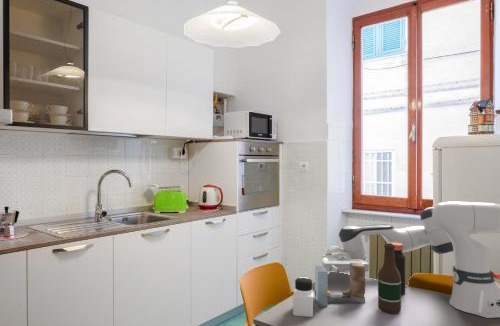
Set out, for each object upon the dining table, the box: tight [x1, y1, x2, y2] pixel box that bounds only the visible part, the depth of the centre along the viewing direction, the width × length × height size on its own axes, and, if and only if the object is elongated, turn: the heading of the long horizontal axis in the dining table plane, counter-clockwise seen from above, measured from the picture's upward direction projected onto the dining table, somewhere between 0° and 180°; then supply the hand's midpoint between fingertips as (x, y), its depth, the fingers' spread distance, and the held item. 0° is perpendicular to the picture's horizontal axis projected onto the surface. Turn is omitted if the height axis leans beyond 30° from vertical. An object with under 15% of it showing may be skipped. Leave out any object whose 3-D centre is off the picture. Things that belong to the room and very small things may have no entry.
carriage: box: [341, 263, 366, 298], centre depth 131 cm, size 8×4×12 cm, turn 89°
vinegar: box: [390, 243, 406, 296], centre depth 140 cm, size 7×7×20 cm
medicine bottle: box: [292, 276, 315, 318], centre depth 121 cm, size 7×7×12 cm
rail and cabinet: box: [314, 265, 366, 308], centre depth 129 cm, size 18×7×13 cm, turn 89°
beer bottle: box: [377, 243, 402, 315], centre depth 123 cm, size 8×8×24 cm
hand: (349, 271), depth 142 cm, fingers open, 8 cm apart
